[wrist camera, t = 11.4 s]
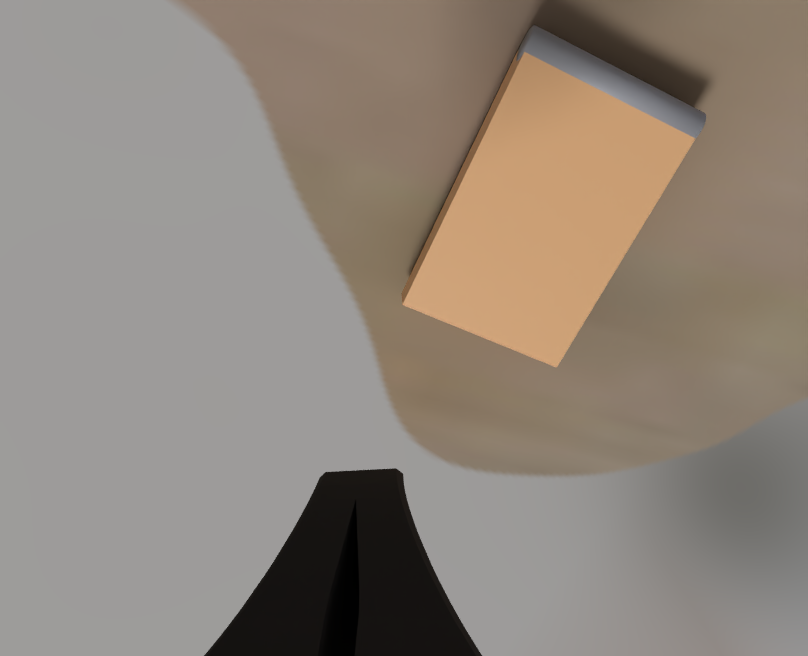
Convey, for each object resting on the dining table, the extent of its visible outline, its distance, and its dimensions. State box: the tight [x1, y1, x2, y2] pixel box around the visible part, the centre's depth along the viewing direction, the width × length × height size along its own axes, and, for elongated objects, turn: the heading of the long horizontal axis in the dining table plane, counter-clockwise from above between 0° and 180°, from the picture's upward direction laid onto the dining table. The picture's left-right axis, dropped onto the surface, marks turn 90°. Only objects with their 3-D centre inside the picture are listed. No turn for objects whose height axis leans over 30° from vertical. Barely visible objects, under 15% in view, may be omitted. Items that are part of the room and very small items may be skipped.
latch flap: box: [402, 25, 706, 367], centre depth 18 cm, size 5×8×1 cm, turn 156°
